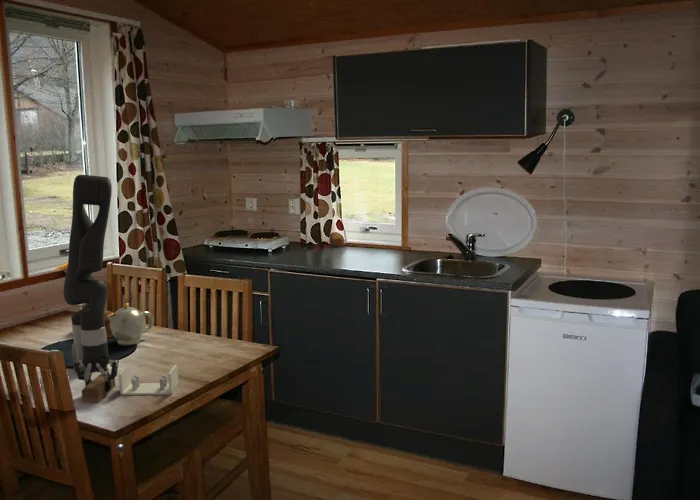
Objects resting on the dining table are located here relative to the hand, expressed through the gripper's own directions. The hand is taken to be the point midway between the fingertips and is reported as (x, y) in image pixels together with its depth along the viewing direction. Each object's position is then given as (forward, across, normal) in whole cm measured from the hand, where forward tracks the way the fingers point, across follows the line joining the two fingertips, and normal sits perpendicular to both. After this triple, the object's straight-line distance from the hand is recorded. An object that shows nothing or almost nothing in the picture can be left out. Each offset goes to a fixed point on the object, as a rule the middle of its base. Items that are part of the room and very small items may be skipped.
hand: (99, 391), depth 205 cm
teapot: (+1, +6, -51) cm, 51 cm away
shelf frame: (+1, -15, -3) cm, 16 cm away
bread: (+1, +24, -62) cm, 67 cm away
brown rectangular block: (+1, 0, 0) cm, 1 cm away
